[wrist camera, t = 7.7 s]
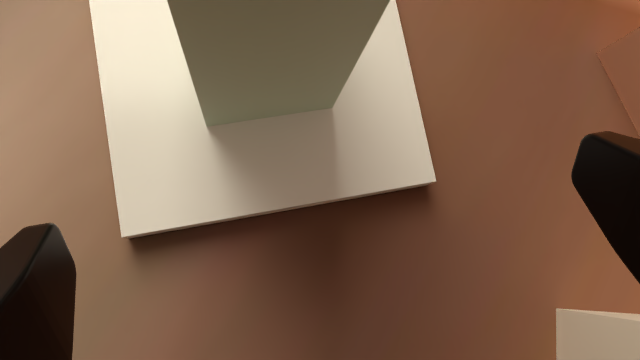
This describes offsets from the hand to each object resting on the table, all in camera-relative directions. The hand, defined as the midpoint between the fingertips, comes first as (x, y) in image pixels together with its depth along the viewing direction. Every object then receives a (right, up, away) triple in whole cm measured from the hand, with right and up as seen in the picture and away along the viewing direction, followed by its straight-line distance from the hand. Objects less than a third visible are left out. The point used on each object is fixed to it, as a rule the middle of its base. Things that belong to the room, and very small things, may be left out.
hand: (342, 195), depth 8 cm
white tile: (-3, +4, +11) cm, 12 cm away
